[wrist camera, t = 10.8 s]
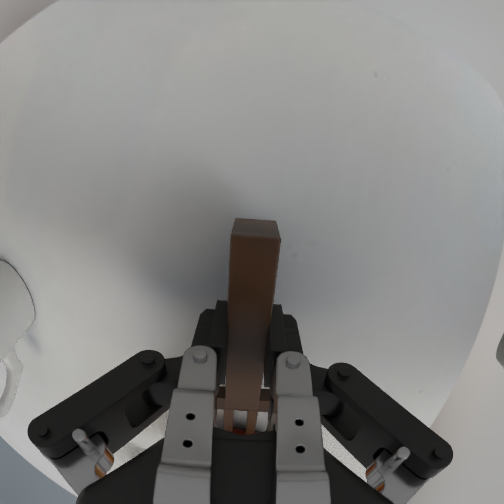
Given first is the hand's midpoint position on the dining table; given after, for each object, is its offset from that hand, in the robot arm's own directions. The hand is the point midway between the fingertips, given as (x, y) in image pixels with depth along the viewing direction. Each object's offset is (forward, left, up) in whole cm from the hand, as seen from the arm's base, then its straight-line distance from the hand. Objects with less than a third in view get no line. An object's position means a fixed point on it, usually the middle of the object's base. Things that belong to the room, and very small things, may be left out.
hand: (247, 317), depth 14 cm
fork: (0, +3, 0) cm, 3 cm away
